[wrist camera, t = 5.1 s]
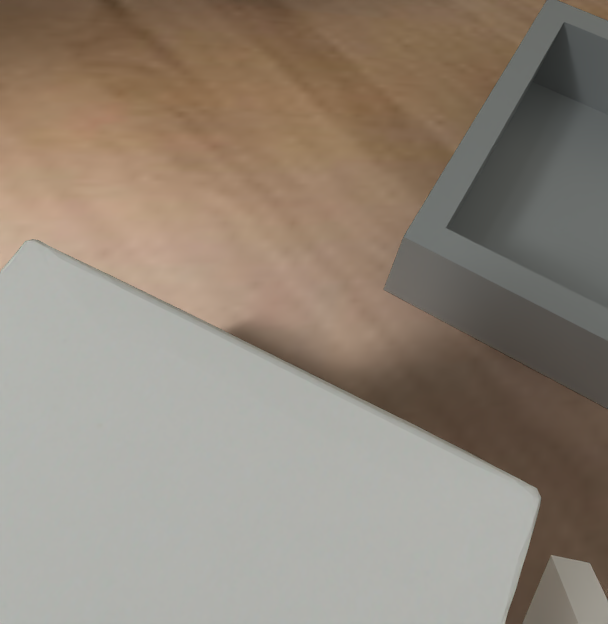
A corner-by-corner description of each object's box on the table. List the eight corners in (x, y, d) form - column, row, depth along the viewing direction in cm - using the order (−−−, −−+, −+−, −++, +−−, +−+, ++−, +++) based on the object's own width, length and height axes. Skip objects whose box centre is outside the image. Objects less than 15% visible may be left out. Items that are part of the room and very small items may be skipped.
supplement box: (385, 535, 18) (582, 495, 6) (270, 800, 15) (229, 1662, 3) (185, 425, 19) (28, 214, 7) (45, 652, 16) (-573, 904, 4)
